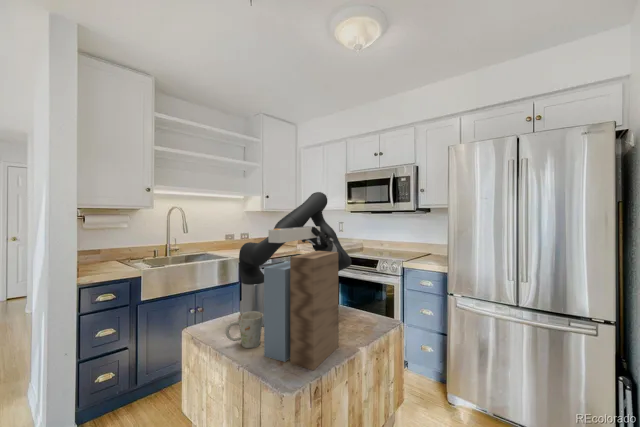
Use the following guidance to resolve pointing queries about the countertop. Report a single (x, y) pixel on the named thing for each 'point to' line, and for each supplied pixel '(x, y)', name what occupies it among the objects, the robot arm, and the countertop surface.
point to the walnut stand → (313, 308)
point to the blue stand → (277, 311)
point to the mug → (248, 329)
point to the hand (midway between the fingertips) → (306, 228)
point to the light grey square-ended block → (291, 234)
